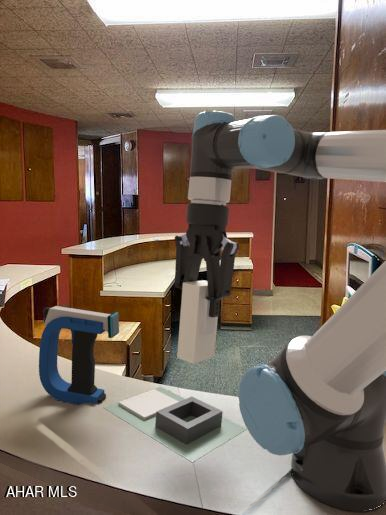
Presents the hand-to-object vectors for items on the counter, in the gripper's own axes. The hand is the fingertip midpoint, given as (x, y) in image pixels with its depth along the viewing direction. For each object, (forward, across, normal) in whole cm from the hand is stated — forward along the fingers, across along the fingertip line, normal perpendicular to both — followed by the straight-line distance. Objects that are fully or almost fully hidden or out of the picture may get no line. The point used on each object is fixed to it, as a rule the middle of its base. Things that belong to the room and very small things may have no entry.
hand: (198, 330), depth 77 cm
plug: (+5, 0, 0) cm, 5 cm away
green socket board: (+20, +4, 0) cm, 20 cm away
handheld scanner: (+20, +24, +9) cm, 33 cm away
